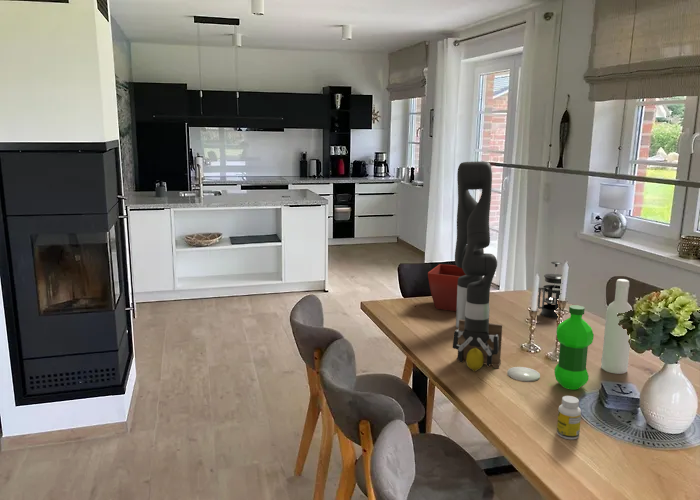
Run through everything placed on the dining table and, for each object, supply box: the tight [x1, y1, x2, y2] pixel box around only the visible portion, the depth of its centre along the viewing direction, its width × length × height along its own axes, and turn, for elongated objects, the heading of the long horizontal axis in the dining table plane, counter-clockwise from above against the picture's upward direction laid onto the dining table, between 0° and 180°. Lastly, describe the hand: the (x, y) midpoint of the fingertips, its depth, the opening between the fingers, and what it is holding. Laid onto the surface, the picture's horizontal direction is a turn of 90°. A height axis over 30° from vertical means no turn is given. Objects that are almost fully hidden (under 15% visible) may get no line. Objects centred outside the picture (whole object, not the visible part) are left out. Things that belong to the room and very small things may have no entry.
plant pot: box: [427, 263, 466, 312], centre depth 250 cm, size 19×19×17 cm
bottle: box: [600, 278, 633, 375], centre depth 182 cm, size 8×8×30 cm
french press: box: [537, 261, 563, 319], centre depth 239 cm, size 12×9×23 cm
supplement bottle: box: [556, 395, 582, 441], centre depth 144 cm, size 5×5×10 cm
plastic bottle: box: [554, 304, 594, 391], centre depth 170 cm, size 10×10×25 cm
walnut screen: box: [455, 319, 503, 369], centre depth 189 cm, size 5×14×14 cm, turn 68°
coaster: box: [506, 366, 541, 382], centre depth 181 cm, size 10×10×1 cm
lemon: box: [465, 348, 484, 372], centre depth 183 cm, size 6×6×8 cm
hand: (474, 363), depth 183 cm, fingers open, 8 cm apart
